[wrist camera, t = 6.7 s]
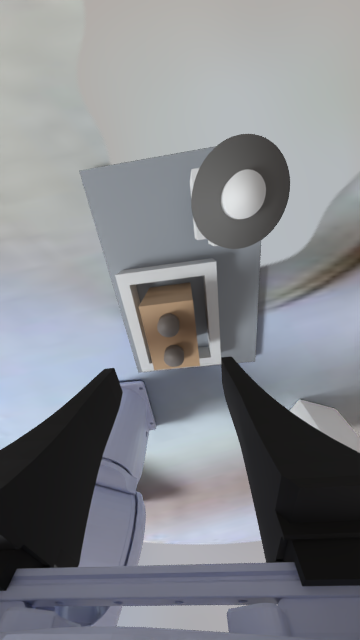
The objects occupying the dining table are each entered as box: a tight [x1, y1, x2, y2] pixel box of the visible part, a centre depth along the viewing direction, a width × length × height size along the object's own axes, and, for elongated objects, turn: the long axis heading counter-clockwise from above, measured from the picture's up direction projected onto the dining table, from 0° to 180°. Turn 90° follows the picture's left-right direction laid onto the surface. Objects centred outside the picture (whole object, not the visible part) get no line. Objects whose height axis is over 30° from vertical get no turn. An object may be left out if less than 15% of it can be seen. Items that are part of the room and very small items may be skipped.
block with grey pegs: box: [139, 283, 200, 370], centre depth 17 cm, size 6×4×6 cm, turn 8°
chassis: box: [79, 147, 261, 373], centre depth 17 cm, size 20×14×4 cm
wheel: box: [190, 134, 290, 249], centre depth 11 cm, size 5×5×5 cm
